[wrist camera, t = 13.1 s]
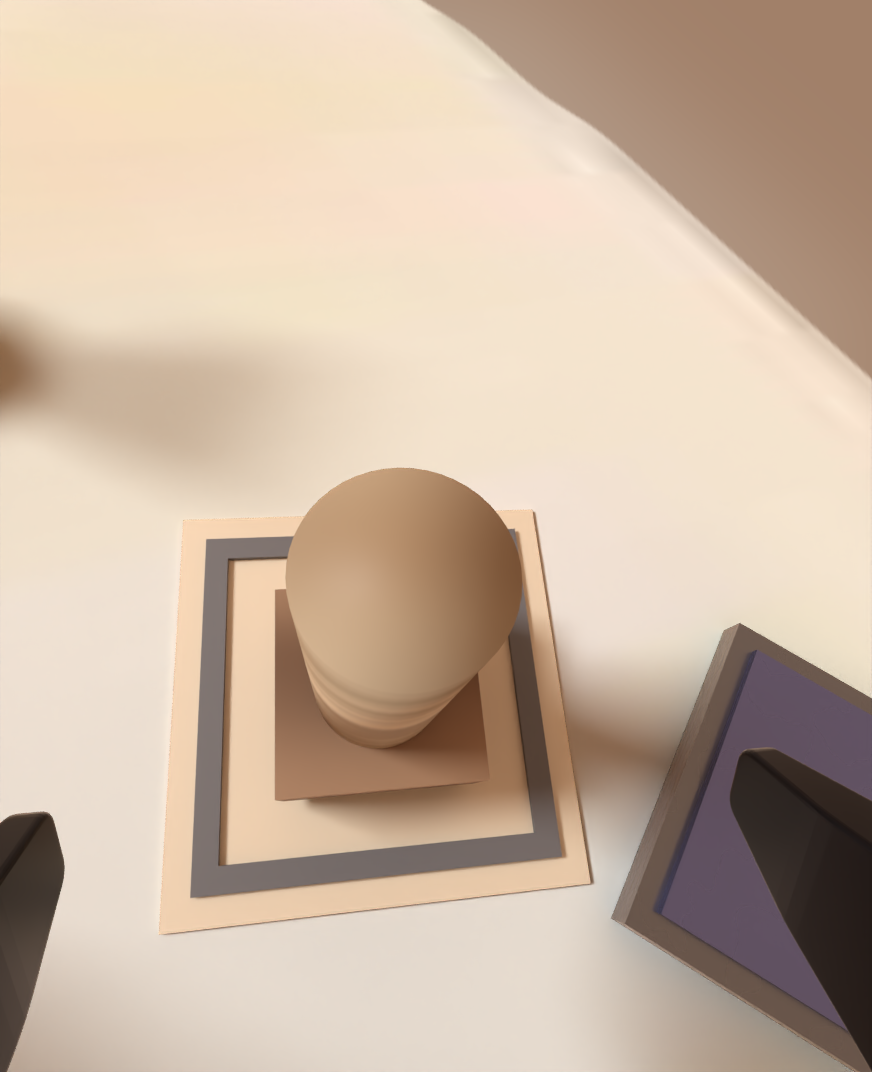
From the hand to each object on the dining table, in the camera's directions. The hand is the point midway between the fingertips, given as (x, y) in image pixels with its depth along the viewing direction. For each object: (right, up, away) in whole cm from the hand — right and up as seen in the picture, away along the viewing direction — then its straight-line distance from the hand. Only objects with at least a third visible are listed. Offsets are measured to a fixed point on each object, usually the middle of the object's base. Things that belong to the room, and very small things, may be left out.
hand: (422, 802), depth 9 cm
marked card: (-2, -1, +12) cm, 12 cm away
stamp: (-2, -2, +12) cm, 12 cm away
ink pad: (+11, -6, +12) cm, 17 cm away
